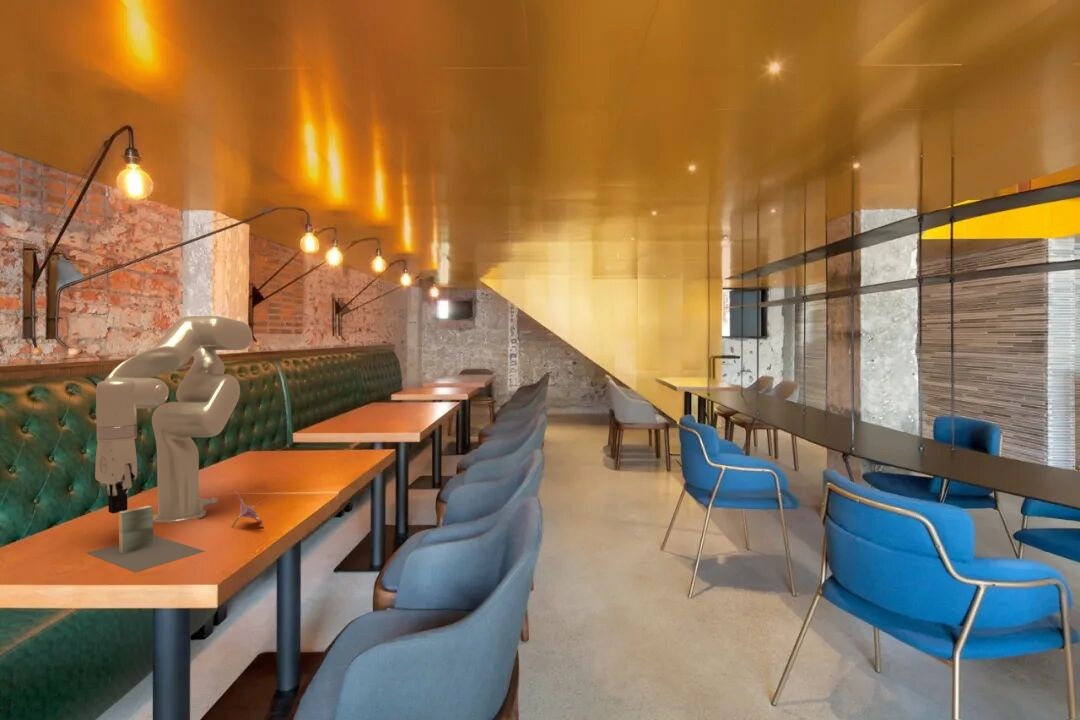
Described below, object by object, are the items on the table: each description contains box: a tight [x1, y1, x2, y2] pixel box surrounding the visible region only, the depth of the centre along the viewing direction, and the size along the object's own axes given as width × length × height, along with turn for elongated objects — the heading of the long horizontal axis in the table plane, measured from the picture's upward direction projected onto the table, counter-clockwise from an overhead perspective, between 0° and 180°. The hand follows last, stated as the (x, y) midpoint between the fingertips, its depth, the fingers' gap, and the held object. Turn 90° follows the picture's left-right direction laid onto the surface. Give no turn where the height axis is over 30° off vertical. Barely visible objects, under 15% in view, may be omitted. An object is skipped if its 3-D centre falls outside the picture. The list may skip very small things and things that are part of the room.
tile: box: [118, 505, 154, 554], centre depth 130 cm, size 6×2×9 cm, turn 150°
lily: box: [231, 488, 265, 528], centre depth 147 cm, size 12×12×10 cm
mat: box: [86, 534, 206, 573], centre depth 128 cm, size 14×22×1 cm, turn 60°
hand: (118, 511), depth 134 cm, fingers closed
